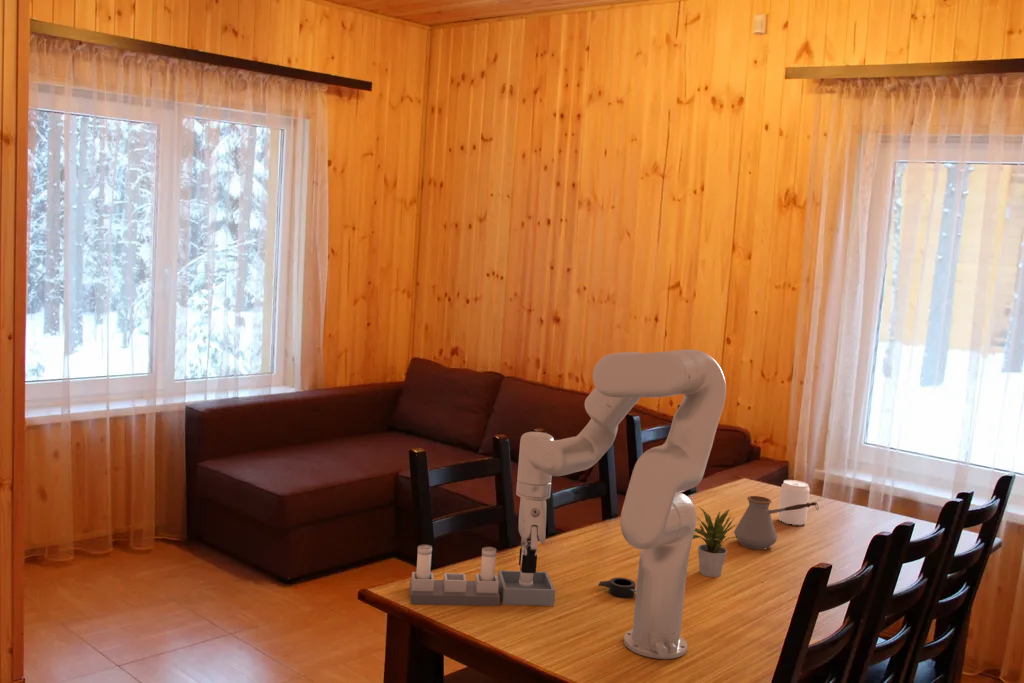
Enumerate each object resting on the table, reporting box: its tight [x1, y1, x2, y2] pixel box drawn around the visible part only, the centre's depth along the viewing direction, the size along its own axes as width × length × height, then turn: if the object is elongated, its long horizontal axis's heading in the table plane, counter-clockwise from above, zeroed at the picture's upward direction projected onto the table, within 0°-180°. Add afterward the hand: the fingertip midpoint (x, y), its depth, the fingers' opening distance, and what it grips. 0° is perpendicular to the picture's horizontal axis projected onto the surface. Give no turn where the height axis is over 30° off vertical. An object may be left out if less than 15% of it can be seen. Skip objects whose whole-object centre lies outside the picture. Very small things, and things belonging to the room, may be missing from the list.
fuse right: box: [480, 546, 497, 581], centre depth 214 cm, size 3×3×9 cm
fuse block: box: [409, 571, 501, 607], centre depth 213 cm, size 9×19×4 cm, turn 97°
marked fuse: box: [519, 545, 533, 588], centre depth 217 cm, size 3×3×9 cm
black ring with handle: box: [598, 577, 636, 599], centre depth 223 cm, size 8×10×3 cm
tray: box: [497, 569, 556, 607], centre depth 217 cm, size 11×11×4 cm
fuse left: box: [415, 544, 433, 579], centre depth 212 cm, size 3×3×9 cm
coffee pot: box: [733, 495, 819, 550], centre depth 264 cm, size 21×12×15 cm, turn 61°
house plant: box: [693, 506, 739, 578], centre depth 242 cm, size 14×14×16 cm
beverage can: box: [777, 479, 811, 526], centre depth 291 cm, size 8×8×12 cm
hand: (527, 568), depth 217 cm, fingers open, 3 cm apart
